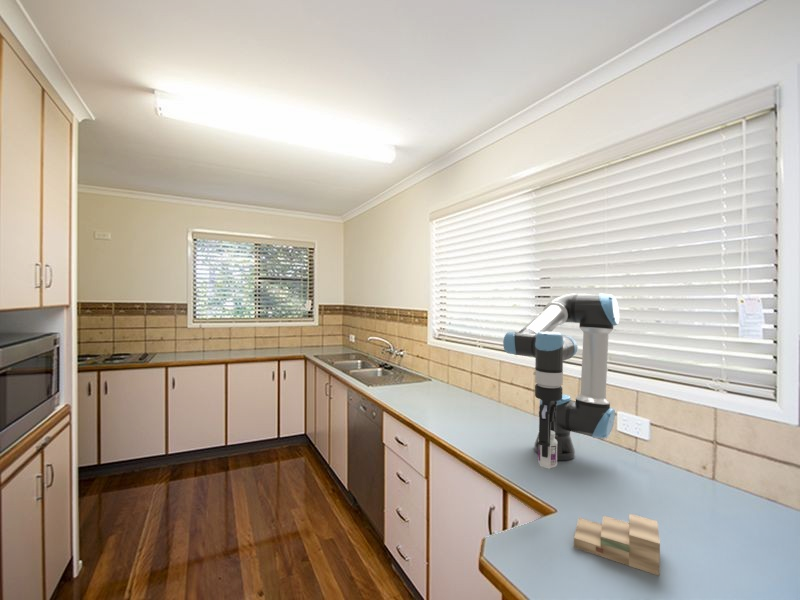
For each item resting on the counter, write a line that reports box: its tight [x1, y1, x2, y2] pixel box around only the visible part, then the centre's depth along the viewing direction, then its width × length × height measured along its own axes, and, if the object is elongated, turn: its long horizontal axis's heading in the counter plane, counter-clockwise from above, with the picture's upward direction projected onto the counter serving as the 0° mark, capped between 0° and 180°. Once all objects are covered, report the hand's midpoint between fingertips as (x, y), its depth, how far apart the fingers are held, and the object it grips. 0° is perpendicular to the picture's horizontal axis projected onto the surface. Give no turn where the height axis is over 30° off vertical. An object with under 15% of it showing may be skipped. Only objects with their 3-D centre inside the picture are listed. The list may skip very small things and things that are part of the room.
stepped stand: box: [573, 513, 661, 577], centre depth 95 cm, size 10×18×8 cm, turn 58°
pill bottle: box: [537, 430, 558, 468], centre depth 110 cm, size 5×5×10 cm
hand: (547, 462), depth 110 cm, fingers closed on pill bottle, 5 cm apart
